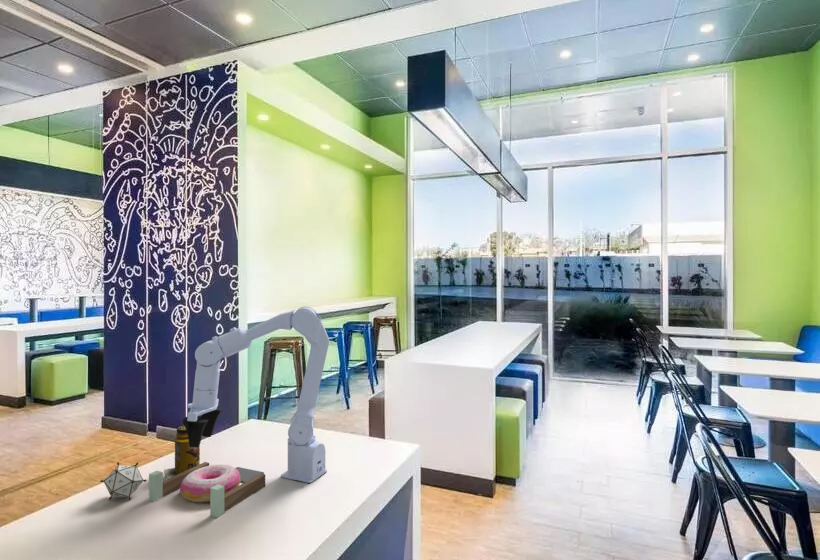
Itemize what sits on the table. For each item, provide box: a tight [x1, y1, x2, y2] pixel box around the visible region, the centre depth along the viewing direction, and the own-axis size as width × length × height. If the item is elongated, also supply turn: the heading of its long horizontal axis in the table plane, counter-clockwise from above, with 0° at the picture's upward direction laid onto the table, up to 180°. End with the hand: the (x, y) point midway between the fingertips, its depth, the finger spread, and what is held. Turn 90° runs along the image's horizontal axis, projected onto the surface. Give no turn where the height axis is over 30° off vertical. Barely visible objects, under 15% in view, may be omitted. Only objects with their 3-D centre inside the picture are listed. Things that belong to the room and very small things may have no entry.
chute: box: [148, 461, 266, 518], centre depth 111 cm, size 21×16×6 cm
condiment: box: [164, 424, 201, 480], centre depth 123 cm, size 7×8×12 cm
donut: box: [179, 464, 241, 503], centre depth 111 cm, size 14×13×5 cm
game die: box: [99, 461, 148, 501], centre depth 109 cm, size 9×8×10 cm
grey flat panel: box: [235, 466, 265, 484], centre depth 121 cm, size 9×6×1 cm
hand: (200, 441), depth 117 cm, fingers open, 7 cm apart
